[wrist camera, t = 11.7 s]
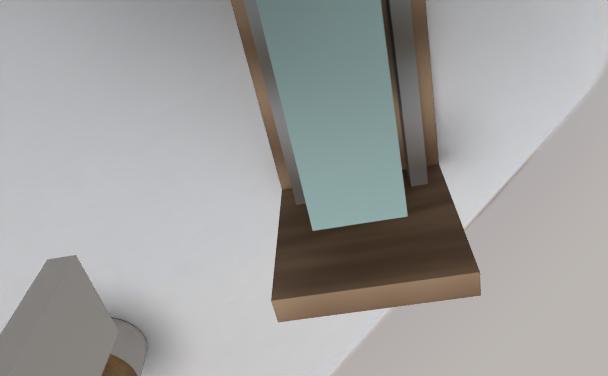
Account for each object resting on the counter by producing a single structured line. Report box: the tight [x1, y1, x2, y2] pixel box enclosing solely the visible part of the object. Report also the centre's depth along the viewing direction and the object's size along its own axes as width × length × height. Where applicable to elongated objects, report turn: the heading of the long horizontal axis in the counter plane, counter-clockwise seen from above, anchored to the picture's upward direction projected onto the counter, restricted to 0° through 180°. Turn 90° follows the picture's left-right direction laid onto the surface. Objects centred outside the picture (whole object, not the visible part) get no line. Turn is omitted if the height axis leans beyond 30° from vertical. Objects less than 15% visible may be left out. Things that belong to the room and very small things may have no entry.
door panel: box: [256, 0, 408, 231], centre depth 24 cm, size 10×4×11 cm, turn 12°
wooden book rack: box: [231, 0, 481, 322], centre depth 26 cm, size 22×10×12 cm, turn 12°
